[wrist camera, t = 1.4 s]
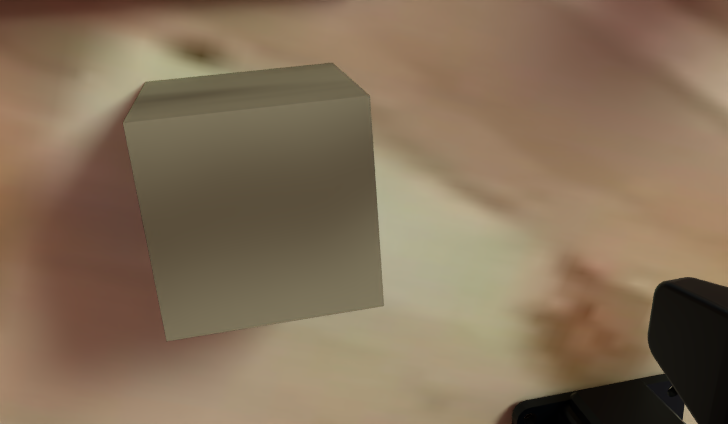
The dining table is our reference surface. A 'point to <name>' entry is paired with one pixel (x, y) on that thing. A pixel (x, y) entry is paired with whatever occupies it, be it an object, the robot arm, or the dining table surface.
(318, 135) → the walnut cube
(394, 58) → the dining table surface
